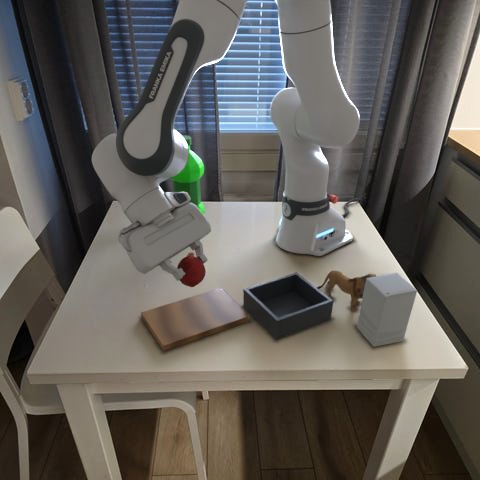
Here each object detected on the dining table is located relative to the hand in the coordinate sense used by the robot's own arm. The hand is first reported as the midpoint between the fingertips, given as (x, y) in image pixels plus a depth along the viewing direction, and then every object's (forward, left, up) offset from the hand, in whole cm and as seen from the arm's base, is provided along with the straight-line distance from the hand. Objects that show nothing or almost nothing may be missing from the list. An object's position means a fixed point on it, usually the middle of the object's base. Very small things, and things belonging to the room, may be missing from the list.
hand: (193, 270), depth 91 cm
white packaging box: (-32, +24, -13) cm, 42 cm away
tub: (-19, +7, -13) cm, 24 cm away
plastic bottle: (-20, -46, -13) cm, 52 cm away
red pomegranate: (0, -1, -4) cm, 4 cm away
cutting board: (0, 0, -13) cm, 13 cm away
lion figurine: (-34, +10, -13) cm, 38 cm away
